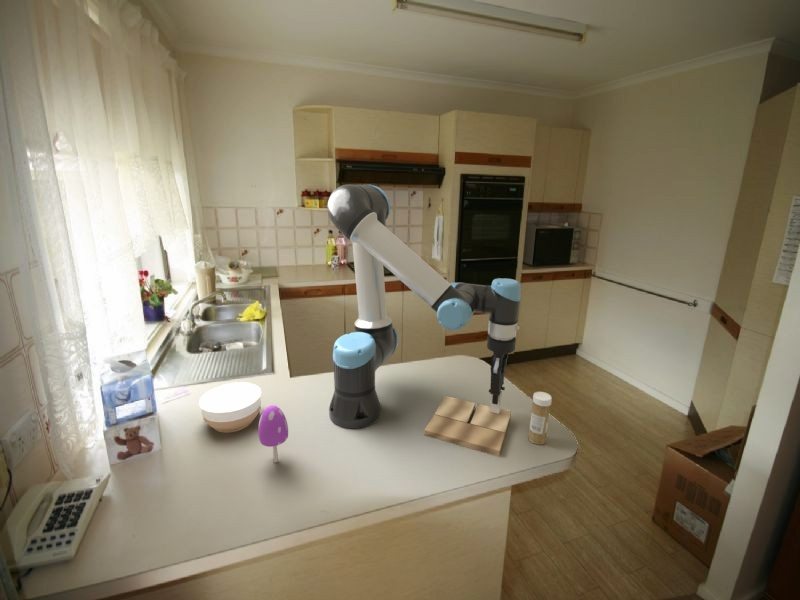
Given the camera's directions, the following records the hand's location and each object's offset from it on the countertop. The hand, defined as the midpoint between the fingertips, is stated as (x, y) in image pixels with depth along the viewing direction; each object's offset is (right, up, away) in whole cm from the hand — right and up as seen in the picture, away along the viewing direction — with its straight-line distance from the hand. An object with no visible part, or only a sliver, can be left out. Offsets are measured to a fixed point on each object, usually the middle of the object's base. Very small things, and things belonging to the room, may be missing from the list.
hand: (494, 411), depth 113 cm
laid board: (-10, -5, -8) cm, 14 cm away
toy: (-58, -7, -18) cm, 61 cm away
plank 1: (-11, -1, +2) cm, 11 cm away
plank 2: (-2, -2, -2) cm, 3 cm away
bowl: (-74, -2, -3) cm, 75 cm away
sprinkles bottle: (+9, -5, -9) cm, 14 cm away
